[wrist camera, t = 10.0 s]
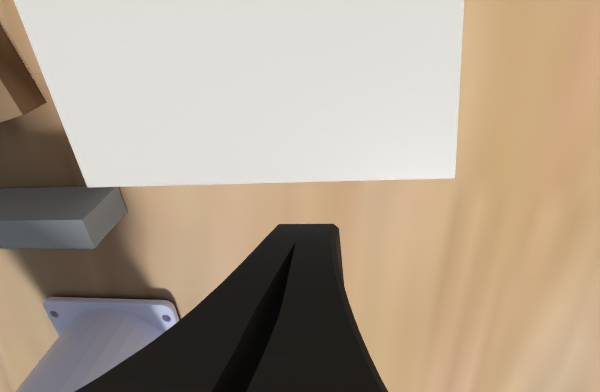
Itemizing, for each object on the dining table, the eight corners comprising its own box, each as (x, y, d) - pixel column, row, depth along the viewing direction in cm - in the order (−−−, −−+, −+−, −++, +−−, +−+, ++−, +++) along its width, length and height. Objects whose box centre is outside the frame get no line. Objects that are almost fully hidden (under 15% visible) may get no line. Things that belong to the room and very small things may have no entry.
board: (448, 154, 19) (454, 178, 17) (111, 166, 22) (87, 187, 20) (466, -247, 13) (478, -272, 11) (-2, -153, 16) (-50, -161, 14)
